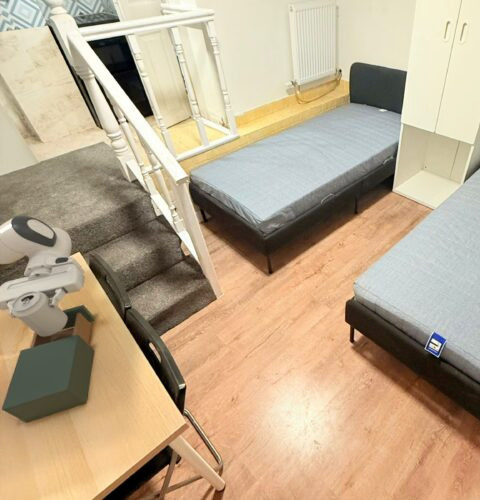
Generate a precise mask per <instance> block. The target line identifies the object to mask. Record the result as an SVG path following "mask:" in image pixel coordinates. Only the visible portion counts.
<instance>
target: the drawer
mask: <svg viewBox="0 0 480 500" xmlns="http://www.w3.org/2000/svg"><path fill="white" fill-rule="evenodd" d="M61 310H62V309H61ZM62 311H63V312H64V313H65V314H66V315H67V319H68V320H67V322H66V324H65V326H64V327H63V329H62V330H60V331H59V332H57V333H56V334H53V335H50V336H40V335H38V334H37V333H35V332H34V333H33V336H32V340H31V343H30V345H29V346H30V347H29V348H32V347H35V346H39V345H42V344H46V343H49V342H53V341H57V340H60V339H64V338H67V337H71V336H74V335H79V336H80V337H81V338H82V339H83V340H84V341H85V342H86V343H87V344H88V345H89V342H90V336H91V329H92V323H93V322H95V321H96V317H95V316H94V314H93V313H92V312H91V311H90V310H89V309H88V307H86V306H85V304H82V305H78V306H74V307H71V308H70V307H69V308H67V309H63V310H62Z"/></svg>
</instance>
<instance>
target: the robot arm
mask: <svg viewBox="0 0 480 500" xmlns="http://www.w3.org/2000/svg"><path fill="white" fill-rule="evenodd" d="M72 245H73V244H72V239H71V236H70V235H69V233H68V232H67V231H65V230H64V229H62V228H60V227H54V226H53V227H52V226H50V225H48V224H47V223H46V222H44V221H42V220H40V219H38V218H35V217H33V216H29V215H15V216H14V217H12V218H10V219H9V220H7V221H6V222H4V223H2V224H1V225H0V271H1V270H6V269H9V268H11V267H12V266H13V265H14V264H16V263H17V262H19V260H21V259H22V258H24V257H28V262H27V264H26V267H25V269H24V273H23V277H19V278H18V277H17V278H14V279H10V280H8V281H6V282H4V283H2V284H1V285H0V311H6V310H9V312H8V316H9V317H10V318H11V319H16V318H17V317H16V316H14V315H13V313H12V308H11V304H12V303H13V301H14V300H15V299H16V298H17V297H18V296H19V295H21V294H23V293H25V292H28V291H37V292H42V293H44V294H45V295H46V296H47V297H48V298H50V299H49V302H48V306H50V308H53V307H57V306H58V307H59V304H60V302H61V301H62V300H63V299H64V298H65V297H66V296H67V295H68V294H72V293H76V292H80V291H81V290H82V289H83V288H84V286H85V281H86V279H85V278H86V277H85V275H84V274H85V270H84V268H83V267H82V265H81V264H80V263H79V262H78V261H77V259H76V258H74V257H73V256H71V253H72V248H73V247H72Z"/></svg>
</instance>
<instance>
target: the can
mask: <svg viewBox="0 0 480 500" xmlns="http://www.w3.org/2000/svg"><path fill="white" fill-rule="evenodd" d="M49 299H51V298H48V297H47V296H46V295H45V294H44V293H42V292H37V291H28V292H25V293H23V294H21V295H19V296H18V297H17V298H16V299H15V300H14V301H13V303H12V304H11V308H12V313H13V315H14V316H16V317H15V318H17V319H18V320H19V321H21V322H22V323H23V325H25V326H27V327H28V328H29V329H30V330H32V331H33V332H34V333H37V334H38V335H40V336H50V335H53V334H56V333H57V332H60V331H63V330H62V329H63V327H64V326H65V324H66V322H67V320H68V319H67V315H66V314H65V313H64V312H63V311H62V309H61V307H59V305H58V306H57V307H53V308H50V306H48V302H49Z"/></svg>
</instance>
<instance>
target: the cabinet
mask: <svg viewBox="0 0 480 500" xmlns="http://www.w3.org/2000/svg"><path fill="white" fill-rule="evenodd" d="M94 355H95V350H94V348H93V347H92V346H91V345H90V344H89V343H88V344H87V343H86V342H85V341H84V340H83V339H82V338H81V337H80V336H79V335H74V336H71V337H67V338H64V339H60V340H57V341H53V342H49V343H46V344H42V345H39V346H35V347H32V348H30V347H29V348H24V349H21V350H20V352H19V354H18V357H17V360H16V364H15V366H14V370H13V373H12V376H11V379H10V381H9V385H8V388H7V391H6V395H5V397H4V401H3V404H2V407H1V411H3V412H5V413H6V414H9V415H11V416H12V417H15V418H16V419H19V420H20V421H23V422H24V423H29V422H32V421H36V420H39V419H42V418H45V417H48V416H51V415H54V414H57V413H60V412H63V411H66V410H69V409H72V408H76V407H79V406H81V405H86V404H87V403H88V396H89V388H90V383H91V377H92V368H93V363H94Z"/></svg>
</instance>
